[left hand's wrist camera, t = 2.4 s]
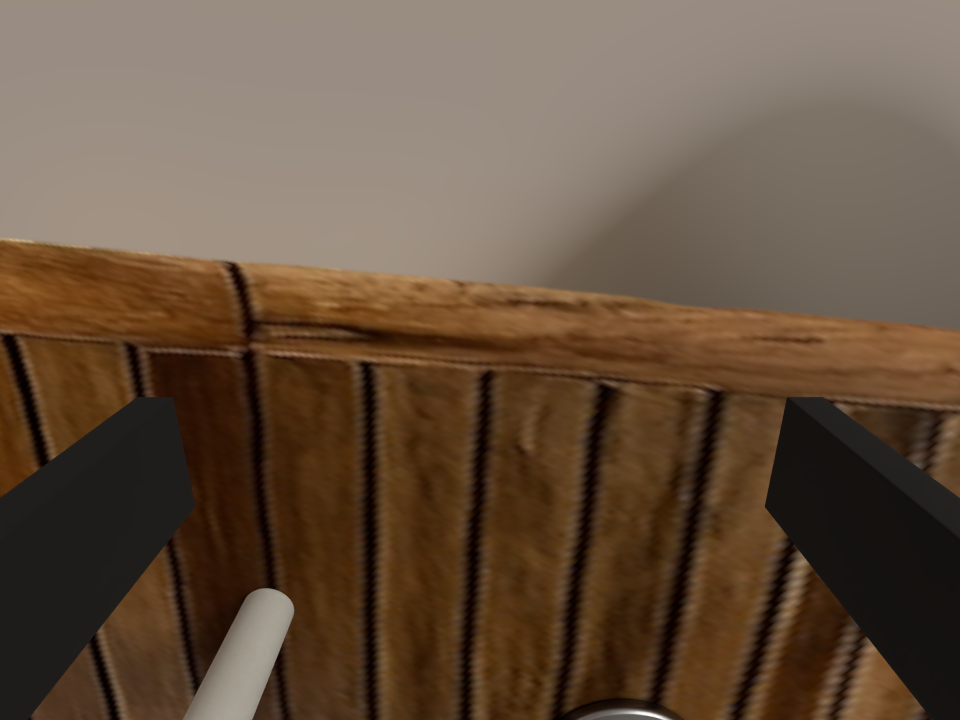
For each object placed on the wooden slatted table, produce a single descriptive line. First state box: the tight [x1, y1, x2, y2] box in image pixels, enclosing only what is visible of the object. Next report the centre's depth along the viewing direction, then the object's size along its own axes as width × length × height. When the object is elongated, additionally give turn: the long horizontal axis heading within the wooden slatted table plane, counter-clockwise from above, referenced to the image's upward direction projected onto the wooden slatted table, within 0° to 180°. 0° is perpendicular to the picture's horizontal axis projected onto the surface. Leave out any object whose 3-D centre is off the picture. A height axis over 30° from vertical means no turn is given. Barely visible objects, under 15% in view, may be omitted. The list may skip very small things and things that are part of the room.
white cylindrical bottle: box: [183, 588, 294, 720], centre depth 42 cm, size 4×4×17 cm
